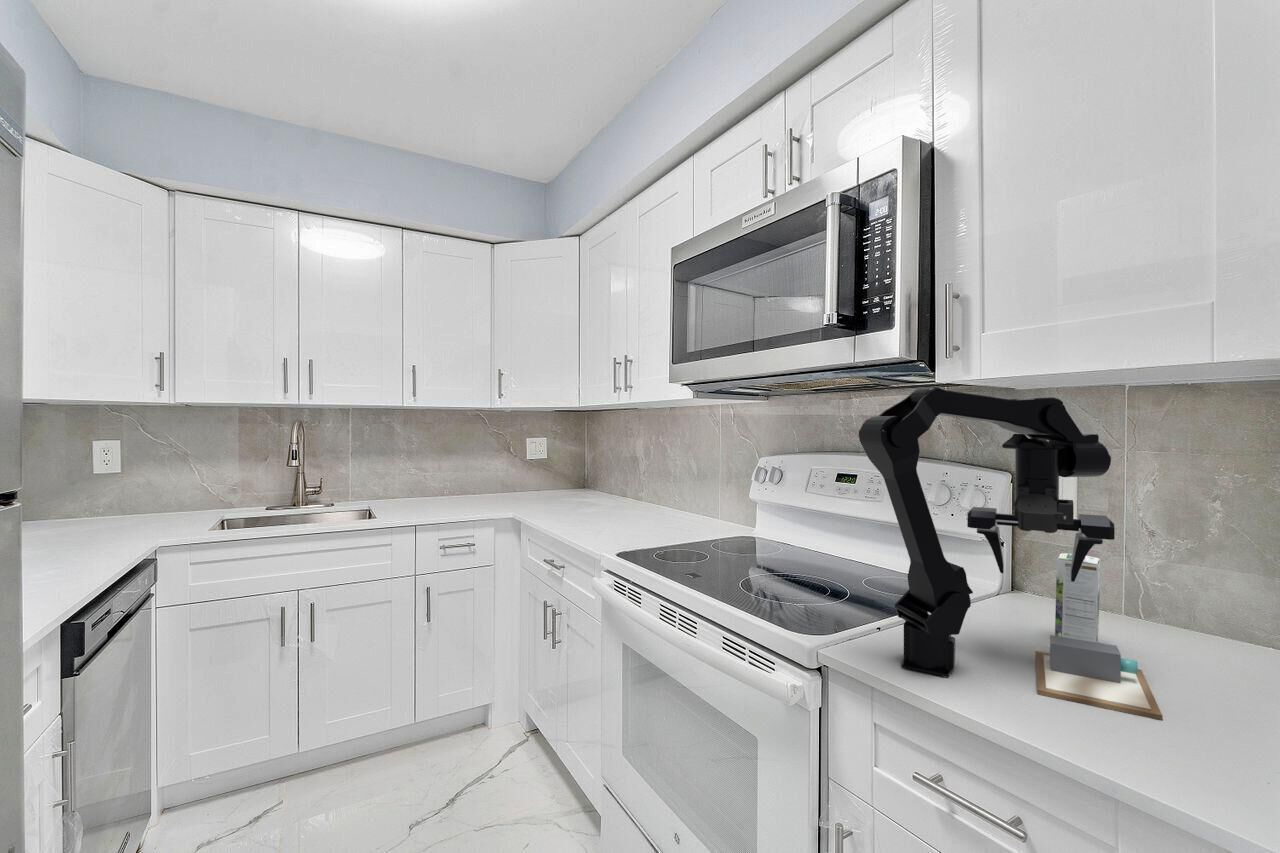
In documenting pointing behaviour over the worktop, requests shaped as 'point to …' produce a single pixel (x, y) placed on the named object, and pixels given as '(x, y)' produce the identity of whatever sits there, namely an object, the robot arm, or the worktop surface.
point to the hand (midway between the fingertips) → (1036, 576)
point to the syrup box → (1077, 599)
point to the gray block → (1089, 659)
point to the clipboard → (1098, 690)
